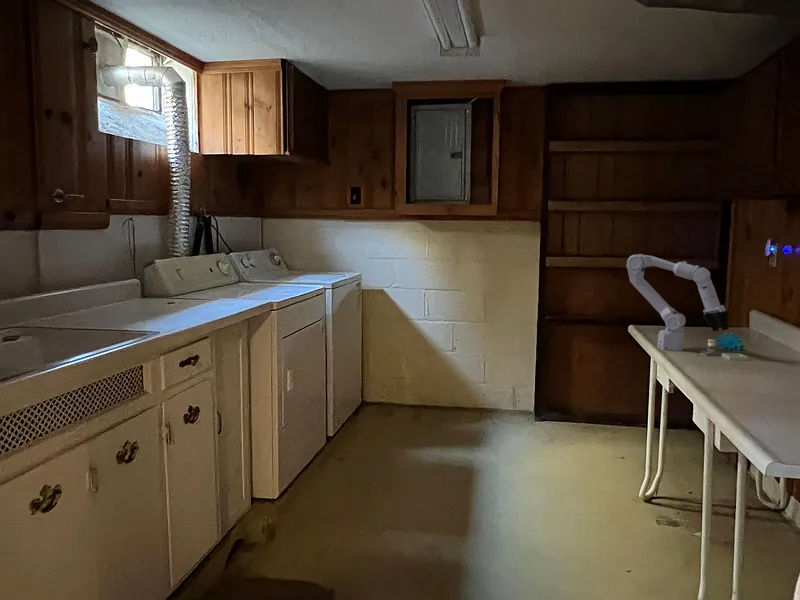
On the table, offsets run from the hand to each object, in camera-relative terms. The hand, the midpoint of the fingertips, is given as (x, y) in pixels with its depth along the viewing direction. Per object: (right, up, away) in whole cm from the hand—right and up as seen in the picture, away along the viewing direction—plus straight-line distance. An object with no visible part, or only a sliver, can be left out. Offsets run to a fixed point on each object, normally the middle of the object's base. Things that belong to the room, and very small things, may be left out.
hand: (720, 330), depth 266 cm
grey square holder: (-4, -11, +1) cm, 11 cm away
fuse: (-4, -9, 0) cm, 10 cm away
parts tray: (+2, -12, -6) cm, 13 cm away
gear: (+10, -10, +14) cm, 20 cm away
